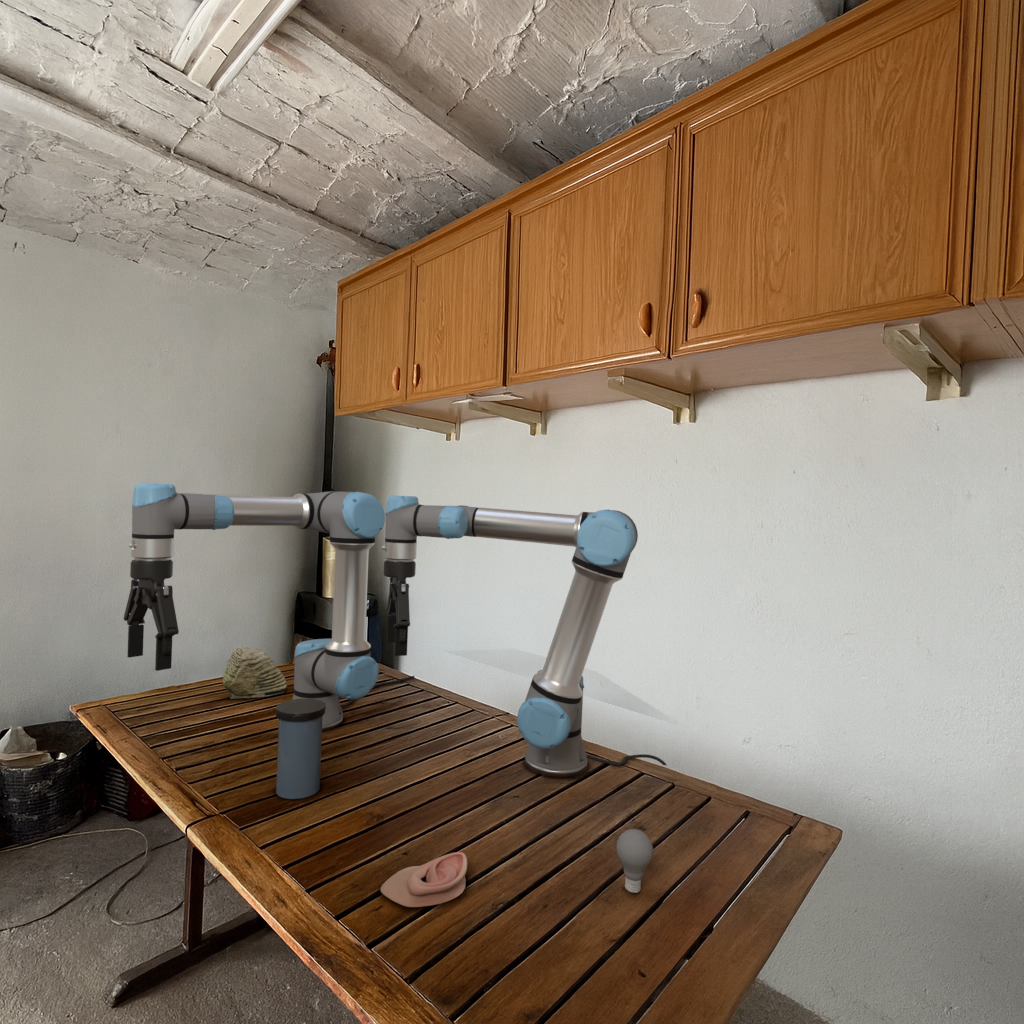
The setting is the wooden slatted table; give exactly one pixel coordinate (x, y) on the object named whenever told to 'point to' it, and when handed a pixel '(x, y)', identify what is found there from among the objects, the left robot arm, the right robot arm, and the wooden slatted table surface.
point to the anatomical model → (428, 882)
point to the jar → (298, 758)
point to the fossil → (252, 674)
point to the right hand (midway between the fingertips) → (396, 648)
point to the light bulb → (634, 857)
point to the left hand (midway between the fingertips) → (148, 662)
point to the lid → (300, 710)
